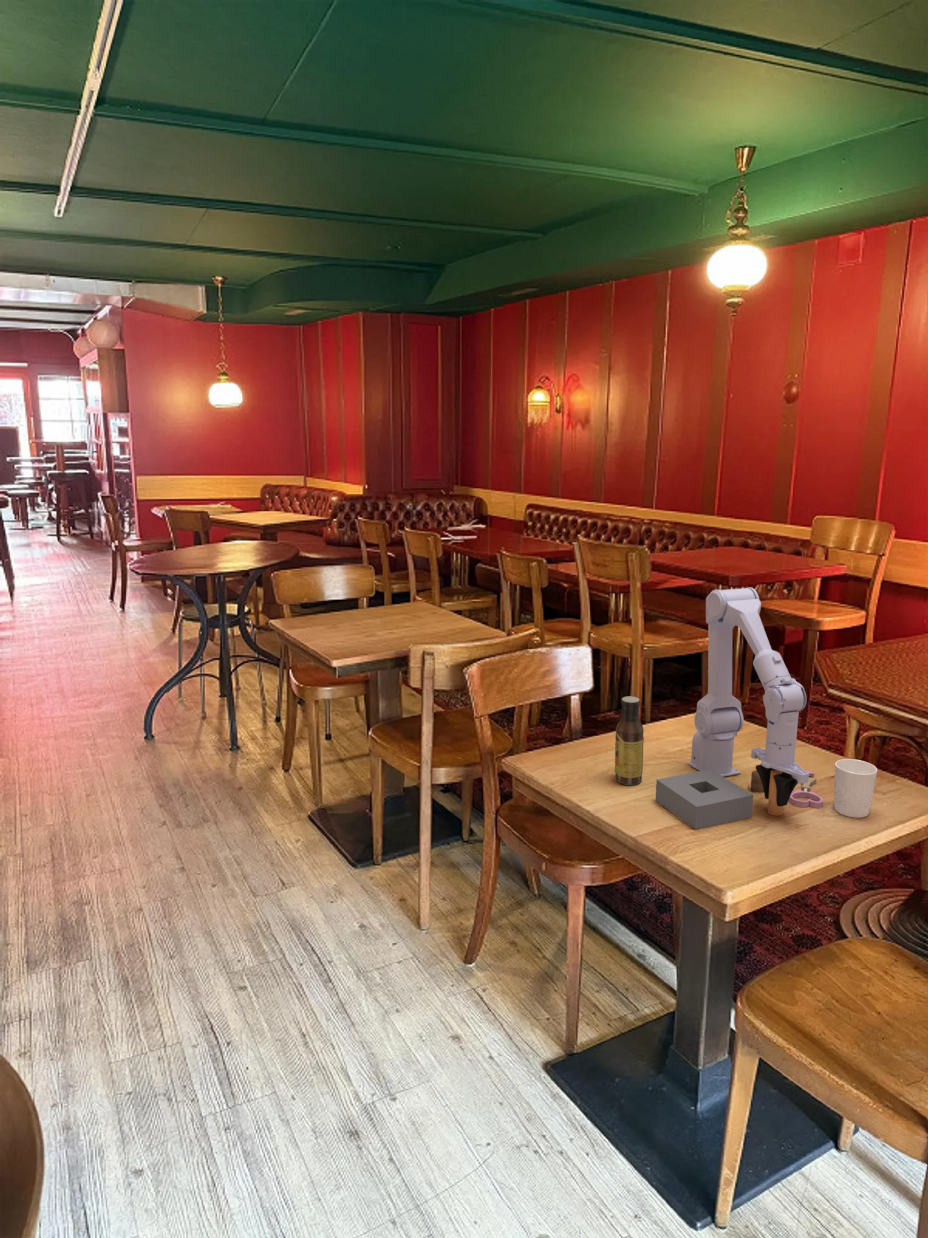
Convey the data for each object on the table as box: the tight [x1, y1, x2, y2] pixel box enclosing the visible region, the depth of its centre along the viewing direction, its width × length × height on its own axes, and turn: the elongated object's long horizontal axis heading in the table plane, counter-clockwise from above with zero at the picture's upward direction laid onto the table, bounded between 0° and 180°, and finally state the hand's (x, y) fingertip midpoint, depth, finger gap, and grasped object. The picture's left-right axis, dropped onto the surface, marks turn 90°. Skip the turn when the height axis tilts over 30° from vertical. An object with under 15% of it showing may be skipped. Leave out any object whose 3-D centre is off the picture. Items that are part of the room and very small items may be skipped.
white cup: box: [833, 758, 878, 819], centre depth 169 cm, size 8×8×10 cm
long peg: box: [767, 769, 784, 817], centre depth 169 cm, size 3×3×9 cm
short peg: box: [750, 769, 764, 794], centre depth 180 cm, size 3×3×4 cm
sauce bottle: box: [614, 695, 645, 786], centre depth 184 cm, size 6×6×20 cm
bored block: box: [655, 769, 754, 830], centre depth 172 cm, size 14×14×5 cm
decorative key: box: [788, 768, 824, 809], centre depth 181 cm, size 7×1×20 cm
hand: (775, 801), depth 170 cm, fingers closed on long peg, 3 cm apart
